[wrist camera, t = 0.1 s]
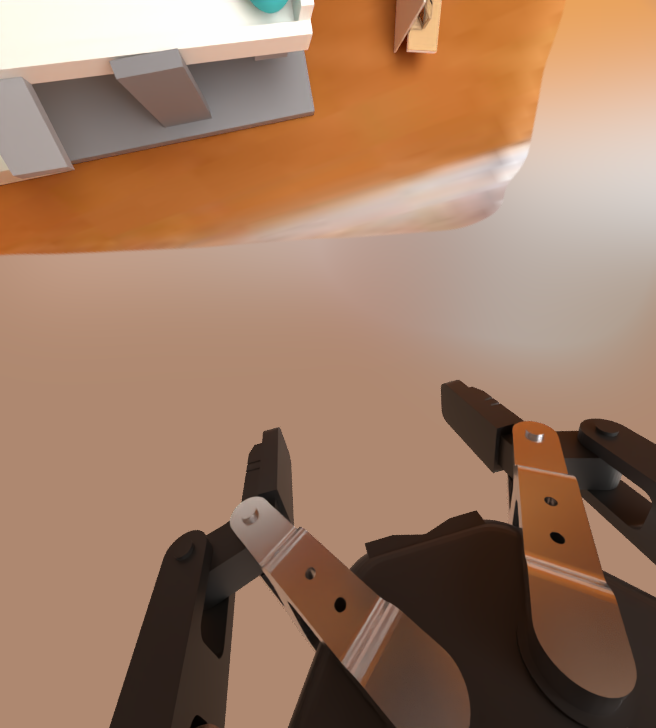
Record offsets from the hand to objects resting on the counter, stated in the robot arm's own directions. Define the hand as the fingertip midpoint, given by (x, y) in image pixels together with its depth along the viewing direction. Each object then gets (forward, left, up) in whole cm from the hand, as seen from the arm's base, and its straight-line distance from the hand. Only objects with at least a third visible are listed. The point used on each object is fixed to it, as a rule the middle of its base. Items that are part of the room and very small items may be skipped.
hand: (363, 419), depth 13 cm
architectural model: (-27, +17, -30) cm, 44 cm away
